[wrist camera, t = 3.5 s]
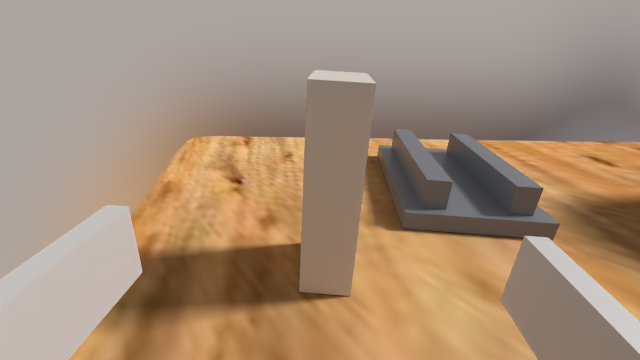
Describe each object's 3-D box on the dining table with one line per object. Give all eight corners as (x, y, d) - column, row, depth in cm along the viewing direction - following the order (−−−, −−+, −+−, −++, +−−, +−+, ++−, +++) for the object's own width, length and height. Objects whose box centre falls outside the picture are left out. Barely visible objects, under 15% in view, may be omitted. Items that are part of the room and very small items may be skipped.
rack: (468, 162, 42) (475, 132, 40) (552, 239, 25) (571, 195, 24) (377, 155, 42) (381, 126, 40) (402, 228, 26) (411, 183, 24)
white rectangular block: (348, 245, 23) (366, 73, 18) (350, 296, 18) (376, 83, 14) (306, 242, 23) (315, 70, 18) (299, 291, 18) (307, 78, 14)
